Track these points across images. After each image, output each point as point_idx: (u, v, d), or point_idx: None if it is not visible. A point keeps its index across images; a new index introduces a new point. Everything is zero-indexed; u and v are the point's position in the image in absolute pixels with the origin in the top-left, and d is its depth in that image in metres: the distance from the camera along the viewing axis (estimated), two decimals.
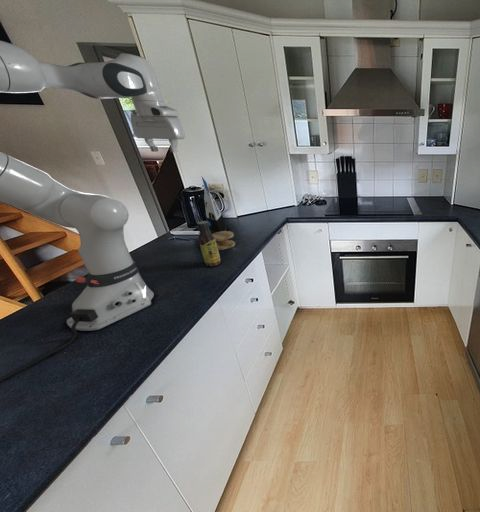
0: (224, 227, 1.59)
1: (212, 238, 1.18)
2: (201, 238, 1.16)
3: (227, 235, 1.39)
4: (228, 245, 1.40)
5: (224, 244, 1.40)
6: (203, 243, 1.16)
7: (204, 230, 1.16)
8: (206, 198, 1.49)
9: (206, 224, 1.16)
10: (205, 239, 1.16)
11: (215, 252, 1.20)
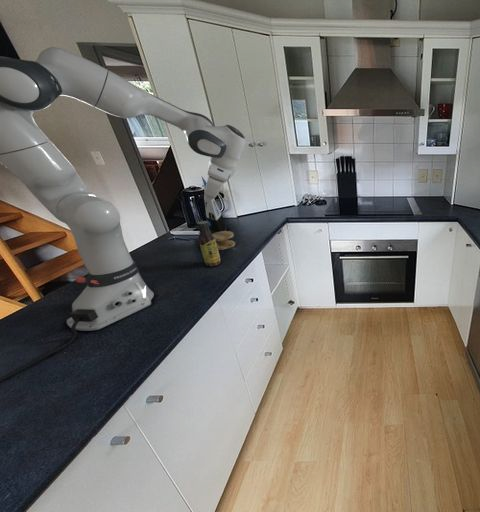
0: (224, 227, 1.59)
1: (212, 238, 1.18)
2: (201, 238, 1.16)
3: (227, 235, 1.39)
4: (228, 245, 1.40)
5: (224, 244, 1.40)
6: (203, 243, 1.16)
7: (204, 230, 1.16)
8: None
9: (206, 224, 1.16)
10: (205, 239, 1.16)
11: (215, 252, 1.20)
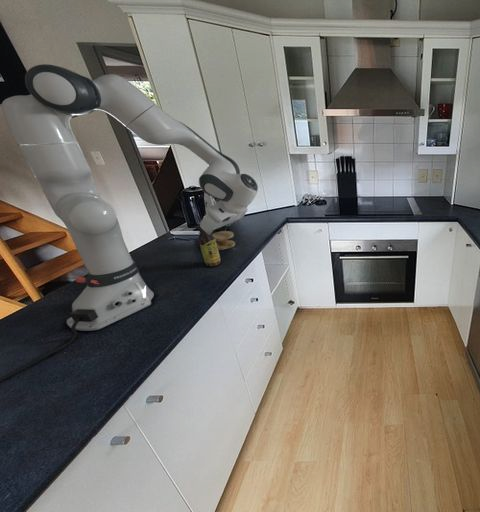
0: (224, 227, 1.59)
1: (212, 238, 1.18)
2: (201, 238, 1.16)
3: (227, 235, 1.39)
4: (228, 245, 1.40)
5: (224, 244, 1.40)
6: (203, 243, 1.16)
7: None
8: (206, 198, 1.49)
9: None
10: (205, 239, 1.16)
11: (215, 252, 1.20)
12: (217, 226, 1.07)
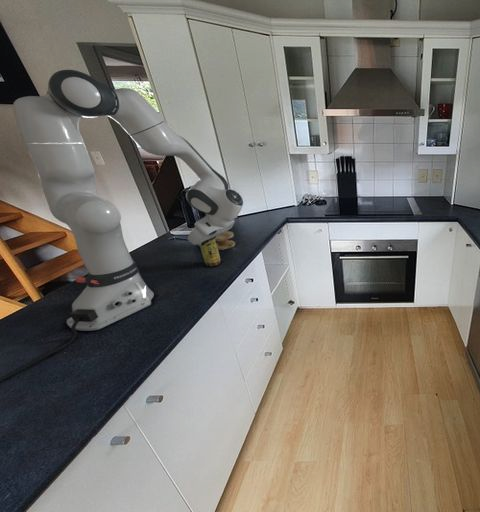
0: None
1: (212, 238, 1.18)
2: None
3: (227, 235, 1.39)
4: (228, 245, 1.40)
5: (224, 244, 1.40)
6: (203, 243, 1.16)
7: None
8: None
9: None
10: None
11: (214, 252, 1.20)
12: (204, 239, 1.11)
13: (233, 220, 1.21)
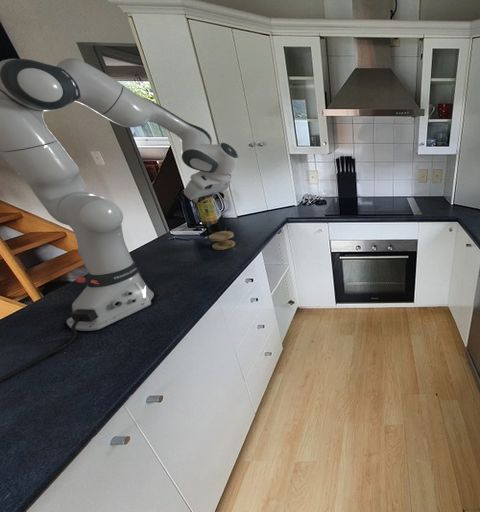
0: (224, 227, 1.59)
1: (208, 196, 1.20)
2: None
3: (227, 235, 1.39)
4: (228, 245, 1.40)
5: (224, 244, 1.40)
6: (199, 200, 1.18)
7: None
8: None
9: None
10: None
11: (211, 210, 1.21)
12: (200, 194, 1.13)
13: (229, 179, 1.22)
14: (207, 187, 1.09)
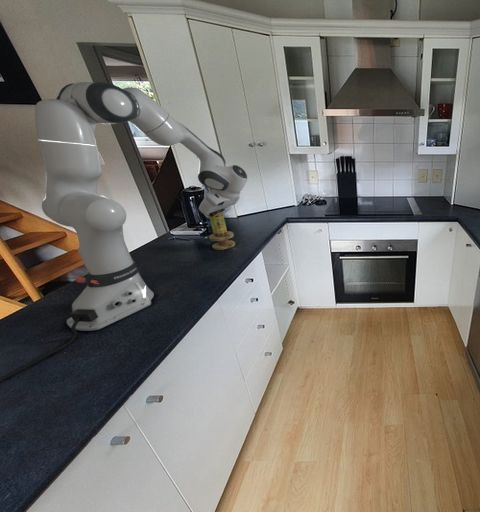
0: None
1: (220, 211, 1.34)
2: None
3: (227, 235, 1.39)
4: (228, 245, 1.40)
5: (224, 244, 1.40)
6: (212, 215, 1.32)
7: None
8: None
9: None
10: None
11: (222, 224, 1.35)
12: (213, 209, 1.27)
13: (238, 195, 1.36)
14: (219, 204, 1.23)
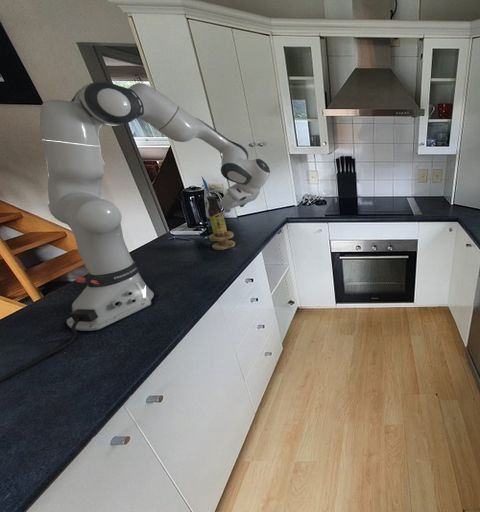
0: None
1: (220, 211, 1.34)
2: (210, 210, 1.31)
3: (227, 235, 1.39)
4: (228, 245, 1.40)
5: (224, 244, 1.40)
6: (212, 215, 1.32)
7: (213, 203, 1.31)
8: (206, 198, 1.49)
9: (215, 198, 1.31)
10: (214, 211, 1.32)
11: (222, 224, 1.35)
12: (234, 205, 1.22)
13: (258, 190, 1.32)
14: (241, 199, 1.19)
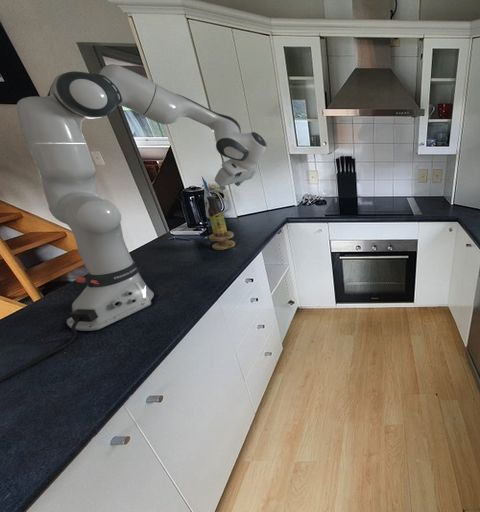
0: None
1: (220, 211, 1.34)
2: (210, 210, 1.31)
3: (227, 235, 1.39)
4: (228, 245, 1.40)
5: (224, 244, 1.40)
6: (212, 215, 1.32)
7: (213, 203, 1.31)
8: (206, 198, 1.49)
9: (215, 198, 1.31)
10: (214, 211, 1.32)
11: (222, 224, 1.35)
12: (230, 181, 1.18)
13: (255, 168, 1.27)
14: (237, 174, 1.14)
